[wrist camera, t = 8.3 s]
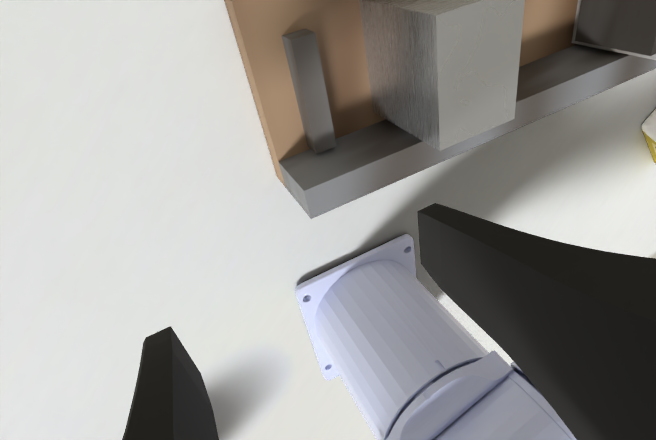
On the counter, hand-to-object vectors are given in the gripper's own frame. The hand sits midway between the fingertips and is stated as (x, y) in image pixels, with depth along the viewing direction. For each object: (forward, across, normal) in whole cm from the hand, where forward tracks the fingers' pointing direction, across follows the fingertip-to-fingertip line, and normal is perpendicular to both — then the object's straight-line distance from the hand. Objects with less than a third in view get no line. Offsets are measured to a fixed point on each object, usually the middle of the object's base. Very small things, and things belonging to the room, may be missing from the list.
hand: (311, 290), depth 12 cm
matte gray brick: (+9, -9, -2) cm, 13 cm away
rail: (+10, -14, -2) cm, 17 cm away
